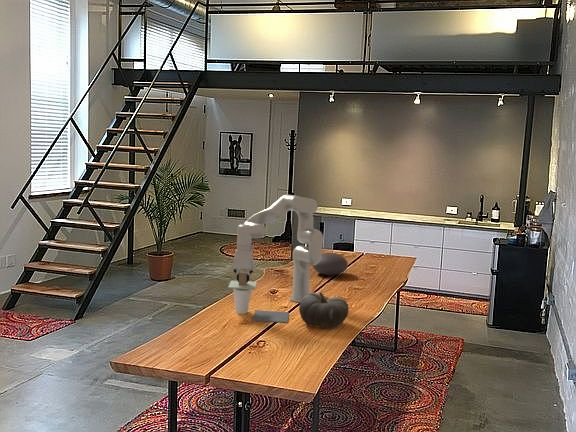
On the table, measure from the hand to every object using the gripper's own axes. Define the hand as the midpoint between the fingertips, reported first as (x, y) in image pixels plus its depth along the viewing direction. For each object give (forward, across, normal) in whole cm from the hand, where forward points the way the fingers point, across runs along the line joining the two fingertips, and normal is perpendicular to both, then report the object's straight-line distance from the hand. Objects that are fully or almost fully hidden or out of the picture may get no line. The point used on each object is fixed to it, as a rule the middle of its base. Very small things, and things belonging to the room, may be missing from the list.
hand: (242, 281), depth 335 cm
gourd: (+17, -43, +14) cm, 48 cm away
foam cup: (+17, 0, 0) cm, 17 cm away
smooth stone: (+17, -50, -100) cm, 113 cm away
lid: (+2, 0, 0) cm, 2 cm away
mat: (+17, -16, +6) cm, 24 cm away
